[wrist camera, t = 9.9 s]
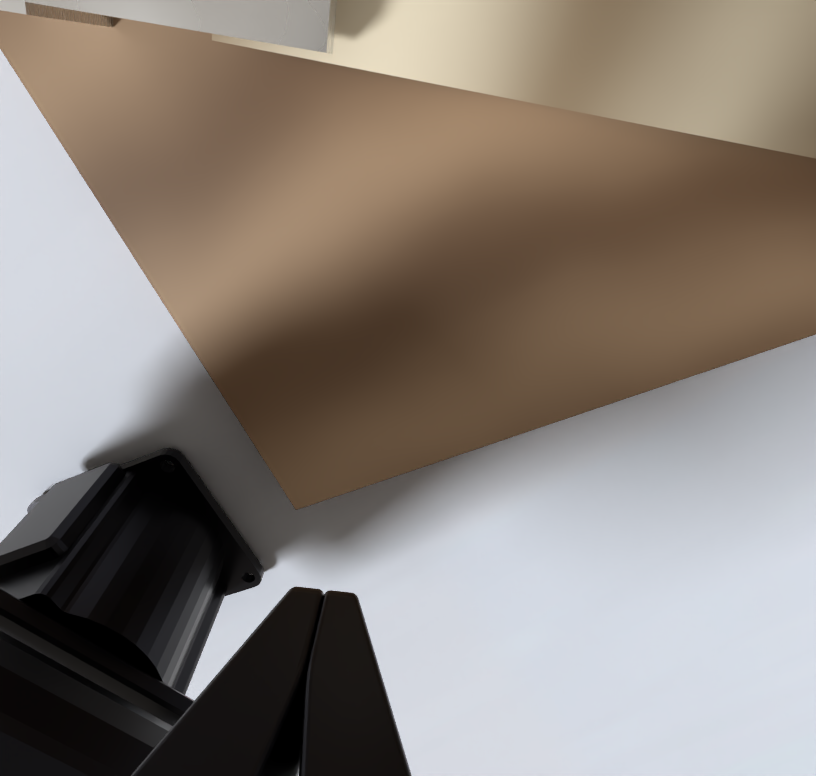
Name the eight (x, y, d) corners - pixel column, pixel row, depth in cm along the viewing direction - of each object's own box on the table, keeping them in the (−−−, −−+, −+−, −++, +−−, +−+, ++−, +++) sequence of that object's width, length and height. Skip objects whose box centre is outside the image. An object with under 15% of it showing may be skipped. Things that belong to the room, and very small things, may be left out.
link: (1072, 23, 13) (1222, 12, 11) (964, 209, 15) (1069, 236, 13) (244, -151, 12) (197, -209, 10) (236, 68, 14) (194, 66, 12)
